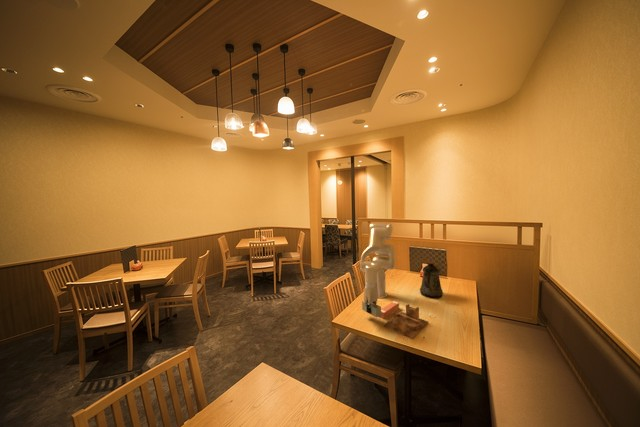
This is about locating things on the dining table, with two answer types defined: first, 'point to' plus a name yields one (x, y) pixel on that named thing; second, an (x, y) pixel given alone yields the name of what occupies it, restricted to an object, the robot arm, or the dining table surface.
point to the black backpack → (431, 282)
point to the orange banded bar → (389, 309)
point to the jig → (407, 322)
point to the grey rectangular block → (373, 309)
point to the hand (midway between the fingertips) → (371, 310)
